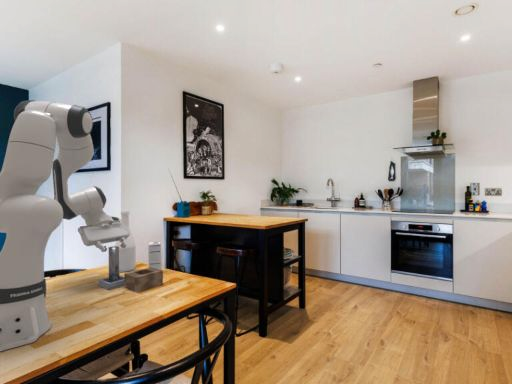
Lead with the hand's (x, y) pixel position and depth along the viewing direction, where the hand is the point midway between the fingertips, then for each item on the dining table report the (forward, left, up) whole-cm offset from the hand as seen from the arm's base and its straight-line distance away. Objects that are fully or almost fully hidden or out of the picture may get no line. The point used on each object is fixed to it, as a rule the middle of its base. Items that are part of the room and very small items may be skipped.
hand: (115, 248), depth 126 cm
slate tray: (0, +1, -15) cm, 15 cm away
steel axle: (0, +1, -14) cm, 14 cm away
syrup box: (+21, +3, -16) cm, 27 cm away
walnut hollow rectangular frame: (+6, -11, -15) cm, 20 cm away
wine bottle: (+15, +19, -16) cm, 29 cm away
